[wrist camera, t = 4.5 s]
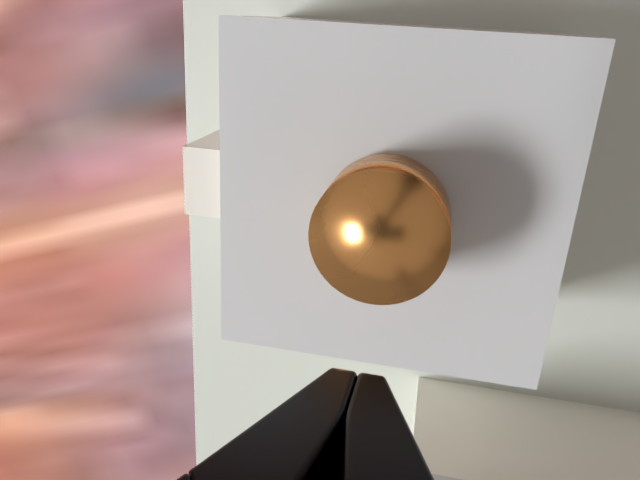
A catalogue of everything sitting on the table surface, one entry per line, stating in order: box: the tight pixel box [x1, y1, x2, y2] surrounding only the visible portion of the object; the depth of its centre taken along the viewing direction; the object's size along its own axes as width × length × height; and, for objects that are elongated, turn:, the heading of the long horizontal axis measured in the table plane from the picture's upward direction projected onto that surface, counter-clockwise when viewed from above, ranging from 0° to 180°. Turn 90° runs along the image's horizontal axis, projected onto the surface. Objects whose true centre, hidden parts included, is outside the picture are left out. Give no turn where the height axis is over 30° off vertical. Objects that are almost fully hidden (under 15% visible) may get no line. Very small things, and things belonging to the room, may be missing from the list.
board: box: [183, 0, 640, 465], centre depth 22 cm, size 22×27×1 cm
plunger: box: [308, 153, 451, 305], centre depth 16 cm, size 7×7×7 cm
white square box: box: [183, 15, 616, 390], centre depth 18 cm, size 10×9×6 cm
